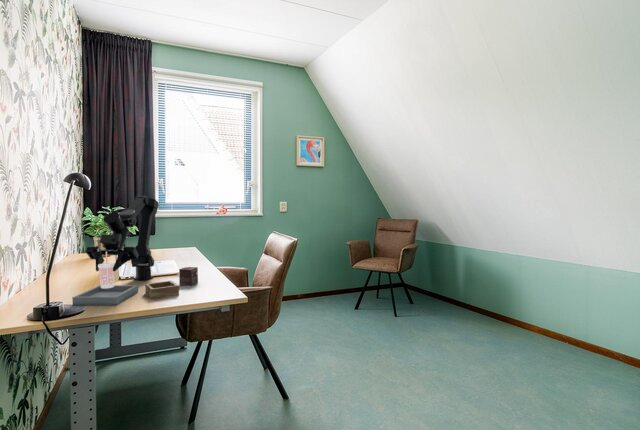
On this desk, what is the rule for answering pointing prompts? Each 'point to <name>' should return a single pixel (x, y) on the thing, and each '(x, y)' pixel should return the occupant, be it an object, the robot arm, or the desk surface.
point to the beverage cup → (106, 274)
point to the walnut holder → (161, 289)
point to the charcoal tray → (105, 295)
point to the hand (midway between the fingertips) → (105, 270)
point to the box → (188, 276)
